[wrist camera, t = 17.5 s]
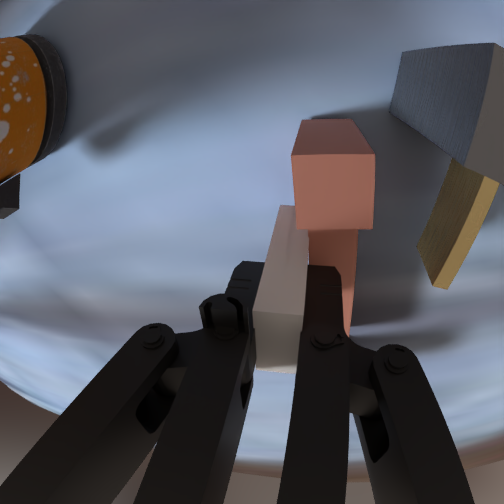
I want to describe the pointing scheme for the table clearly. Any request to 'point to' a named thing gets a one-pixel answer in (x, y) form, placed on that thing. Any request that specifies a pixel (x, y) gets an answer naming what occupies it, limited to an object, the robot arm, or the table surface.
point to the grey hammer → (456, 141)
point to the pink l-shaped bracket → (334, 195)
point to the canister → (27, 109)
